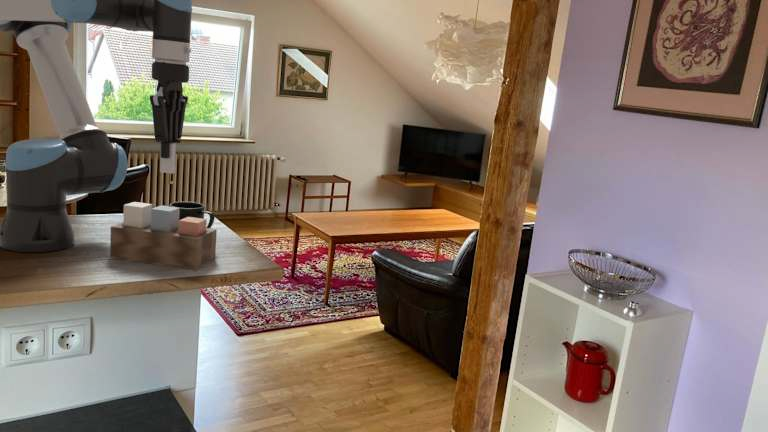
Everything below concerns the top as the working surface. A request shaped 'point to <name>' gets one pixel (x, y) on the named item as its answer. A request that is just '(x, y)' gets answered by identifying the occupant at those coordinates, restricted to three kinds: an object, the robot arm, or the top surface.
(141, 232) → the brown wooden block
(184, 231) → the terracotta key
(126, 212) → the ivory key
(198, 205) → the mug
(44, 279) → the top surface
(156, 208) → the slate key
